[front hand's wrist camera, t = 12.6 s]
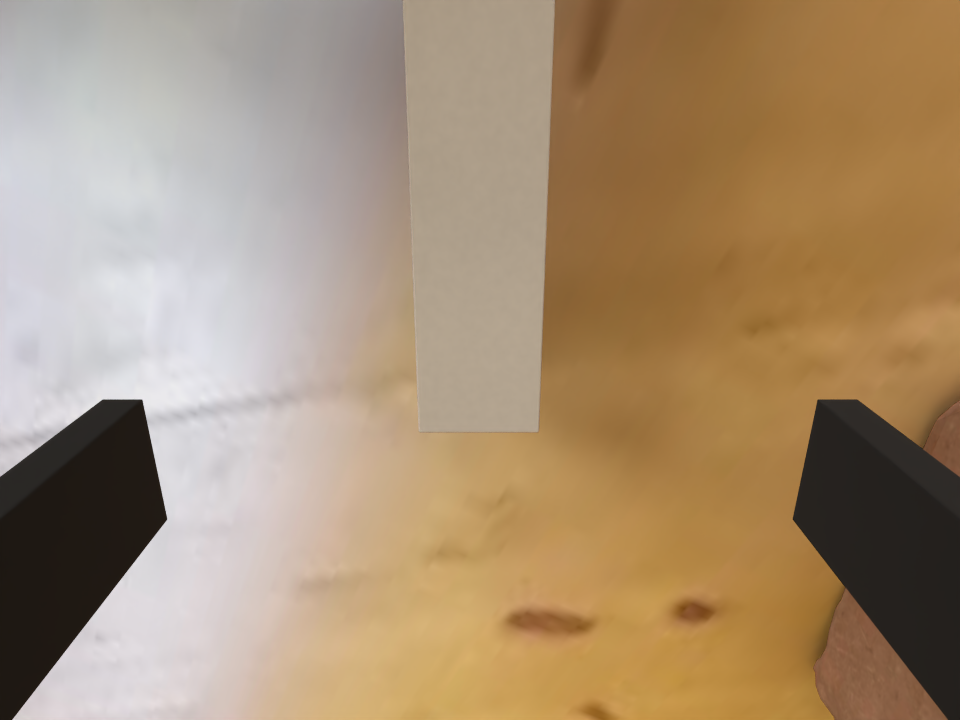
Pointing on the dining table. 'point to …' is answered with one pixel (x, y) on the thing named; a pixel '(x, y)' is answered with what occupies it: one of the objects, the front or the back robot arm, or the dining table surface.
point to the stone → (879, 637)
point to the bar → (478, 207)
